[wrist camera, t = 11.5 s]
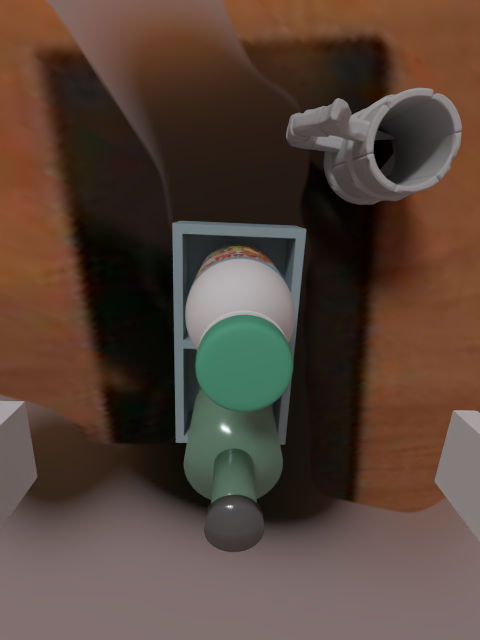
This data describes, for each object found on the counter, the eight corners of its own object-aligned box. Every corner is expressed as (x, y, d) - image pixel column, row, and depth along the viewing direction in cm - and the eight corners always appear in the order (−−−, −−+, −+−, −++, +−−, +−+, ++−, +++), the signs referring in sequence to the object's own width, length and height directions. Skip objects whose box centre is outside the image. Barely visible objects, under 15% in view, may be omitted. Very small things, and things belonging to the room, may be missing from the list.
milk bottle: (289, 294, 35) (357, 397, 16) (224, 331, 36) (216, 467, 18) (251, 226, 33) (279, 254, 14) (183, 267, 34) (124, 344, 15)
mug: (385, 213, 34) (464, 217, 22) (267, 182, 33) (287, 169, 21) (415, 127, 32) (520, 83, 20) (290, 90, 30) (325, 21, 19)
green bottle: (200, 401, 39) (172, 574, 21) (200, 343, 37) (170, 478, 19) (262, 403, 39) (290, 574, 21) (266, 345, 37) (301, 480, 19)
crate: (182, 414, 40) (176, 442, 35) (180, 220, 34) (172, 223, 29) (278, 416, 41) (285, 444, 36) (295, 225, 34) (306, 229, 29)
